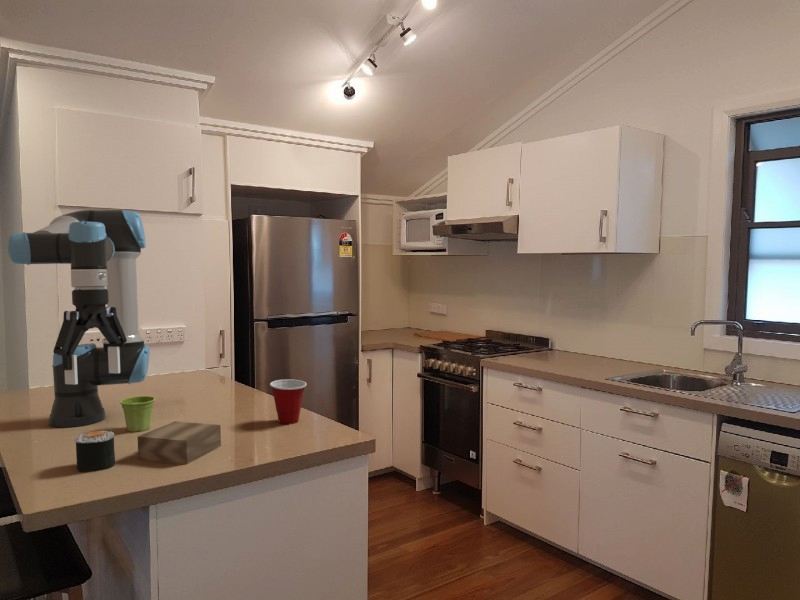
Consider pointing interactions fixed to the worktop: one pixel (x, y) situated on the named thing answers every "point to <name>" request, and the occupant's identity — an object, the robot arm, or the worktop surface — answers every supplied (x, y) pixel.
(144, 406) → the plant pot
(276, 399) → the plastic cup
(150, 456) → the walnut block
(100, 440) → the sushi
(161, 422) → the worktop surface
